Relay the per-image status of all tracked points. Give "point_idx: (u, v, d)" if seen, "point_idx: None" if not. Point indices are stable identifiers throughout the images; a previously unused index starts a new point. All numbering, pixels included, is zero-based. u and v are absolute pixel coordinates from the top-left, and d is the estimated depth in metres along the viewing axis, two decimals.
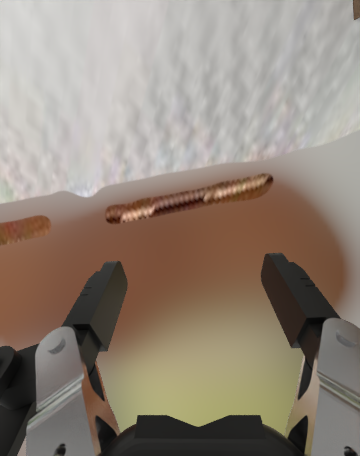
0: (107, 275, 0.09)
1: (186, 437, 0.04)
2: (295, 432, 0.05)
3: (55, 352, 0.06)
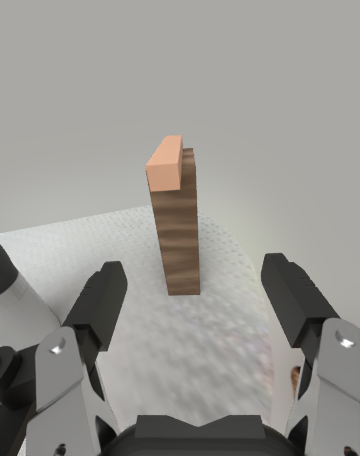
0: (107, 275, 0.09)
1: (186, 437, 0.04)
2: (295, 432, 0.05)
3: (55, 352, 0.06)
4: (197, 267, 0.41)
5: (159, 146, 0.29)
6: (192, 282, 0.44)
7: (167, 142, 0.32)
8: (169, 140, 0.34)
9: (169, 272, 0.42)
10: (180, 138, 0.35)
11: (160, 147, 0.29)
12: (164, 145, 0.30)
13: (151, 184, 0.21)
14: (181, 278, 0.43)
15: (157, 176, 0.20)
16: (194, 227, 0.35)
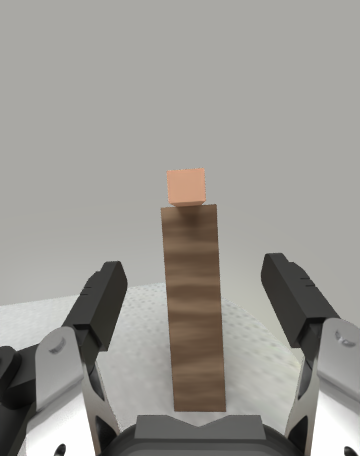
0: (107, 275, 0.09)
1: (186, 437, 0.04)
2: (295, 432, 0.05)
3: (55, 352, 0.06)
4: (220, 351, 0.27)
5: None
6: (213, 382, 0.28)
7: None
8: None
9: (178, 359, 0.28)
10: None
11: None
12: None
13: (170, 193, 0.17)
14: (196, 373, 0.28)
15: (179, 183, 0.17)
16: (216, 281, 0.27)
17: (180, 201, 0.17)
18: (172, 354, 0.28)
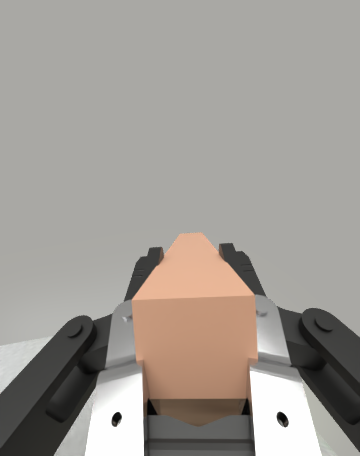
0: (155, 258, 0.10)
1: (186, 437, 0.04)
2: (245, 414, 0.06)
3: (130, 320, 0.07)
4: None
5: (173, 244, 0.17)
6: None
7: (185, 239, 0.20)
8: (187, 237, 0.22)
9: None
10: (203, 235, 0.24)
11: (175, 245, 0.16)
12: (181, 243, 0.17)
13: (145, 370, 0.05)
14: None
15: (172, 340, 0.05)
16: None
17: (176, 394, 0.05)
18: None
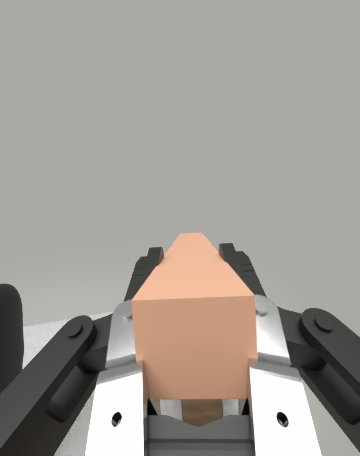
0: (155, 258, 0.10)
1: (186, 437, 0.04)
2: (245, 414, 0.06)
3: (130, 320, 0.07)
4: None
5: (173, 244, 0.17)
6: (213, 403, 0.35)
7: (185, 239, 0.20)
8: (187, 237, 0.22)
9: None
10: (203, 235, 0.24)
11: (175, 246, 0.16)
12: (181, 243, 0.17)
13: None
14: None
15: (172, 341, 0.05)
16: None
17: (176, 394, 0.05)
18: None
